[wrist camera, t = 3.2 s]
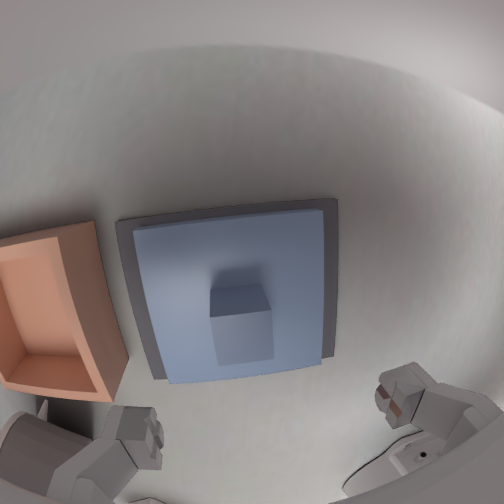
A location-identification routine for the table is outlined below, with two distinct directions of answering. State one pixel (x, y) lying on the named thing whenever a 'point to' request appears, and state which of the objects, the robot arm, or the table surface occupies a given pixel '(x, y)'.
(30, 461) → the alarm clock
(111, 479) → the robot arm
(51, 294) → the dish
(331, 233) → the mat
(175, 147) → the table surface
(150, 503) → the milk
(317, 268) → the lid
